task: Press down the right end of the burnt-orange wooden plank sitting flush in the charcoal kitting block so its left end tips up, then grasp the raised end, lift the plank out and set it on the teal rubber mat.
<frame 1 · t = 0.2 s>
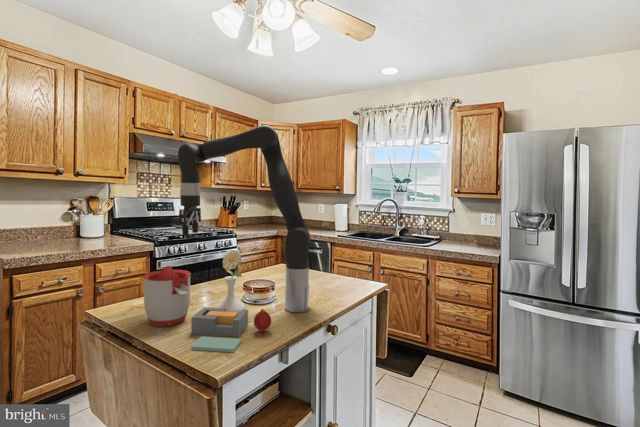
hand: (190, 233, 139), 29 cm above the countertop, tool pointing down, fingers open, 8 cm apart
flower in vase: (231, 313, 131), on the countertop
onion: (262, 332, 115), on the countertop
citrus juicer: (169, 321, 121), on the countertop
mat: (217, 345, 104), on the countertop
kitting block: (222, 329, 116), on the countertop
plank: (222, 320, 116), point 3 cm above the countertop, touching kitting block
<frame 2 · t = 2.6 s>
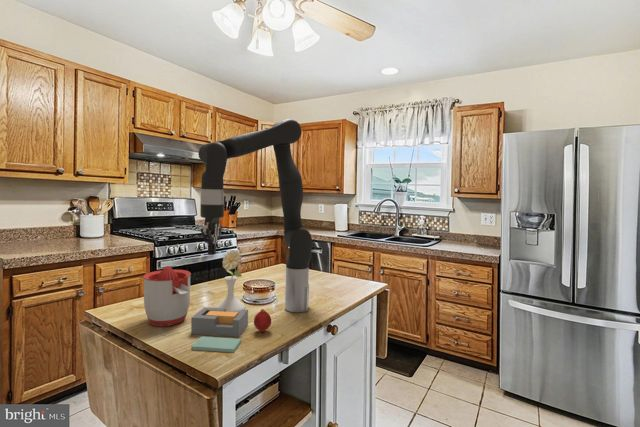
hand: (211, 254, 114), 26 cm above the countertop, tool pointing down, fingers closed
nothing on the countertop moved.
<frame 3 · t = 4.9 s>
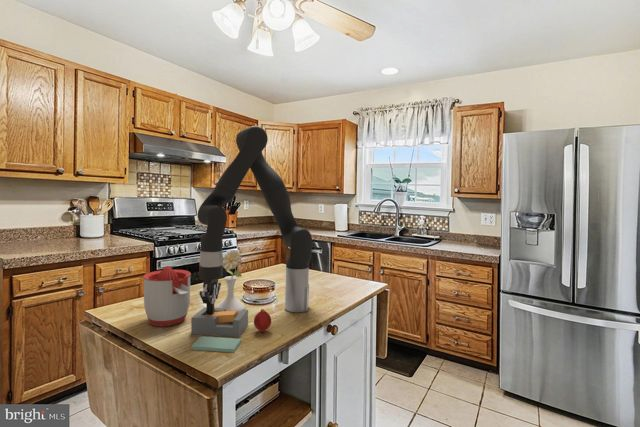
hand: (210, 313, 116), 5 cm above the countertop, tool pointing down, fingers closed
plank: (222, 320, 116), point 3 cm above the countertop, tilted 7°, touching gripper, kitting block
everything else where it was.
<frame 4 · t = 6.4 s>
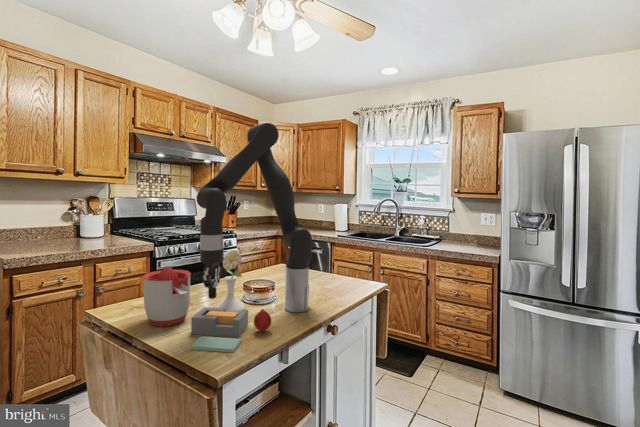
hand: (212, 297, 115), 11 cm above the countertop, tool pointing down, fingers closed
plank: (222, 320, 116), point 3 cm above the countertop, touching kitting block
everything else where it was.
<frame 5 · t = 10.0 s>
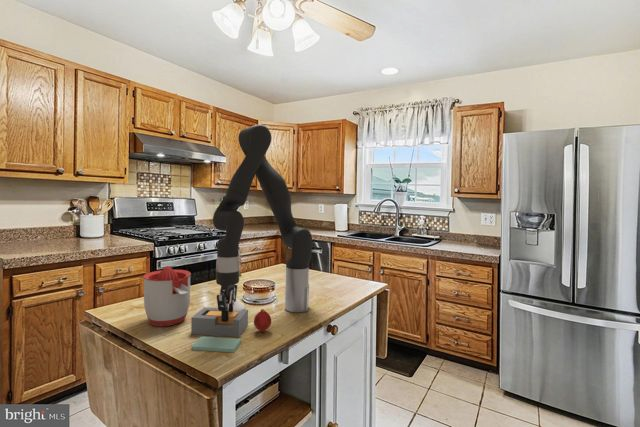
hand: (227, 318, 115), 4 cm above the countertop, tool pointing down, fingers closed on plank, 4 cm apart
plank: (222, 320, 116), point 3 cm above the countertop, touching gripper, kitting block
everything else where it was.
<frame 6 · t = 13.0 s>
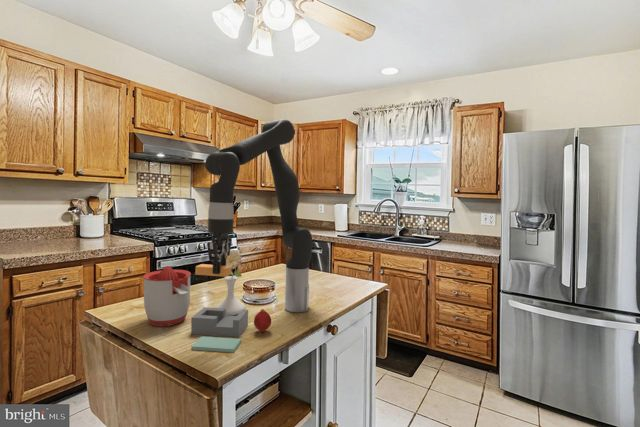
hand: (219, 271, 106), 22 cm above the countertop, tool pointing down, fingers closed on plank, 4 cm apart
plank: (213, 274, 106), point 21 cm above the countertop, touching gripper
everything else where it was.
when the fingers open (8 cm above the countertop, at t = 16.2 s): plank drops 6 cm, resting on mat.
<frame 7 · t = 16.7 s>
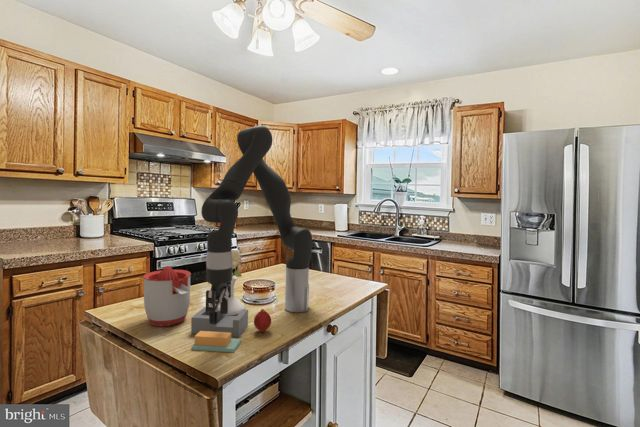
hand: (218, 318, 103), 9 cm above the countertop, tool pointing down, fingers open, 8 cm apart
plank: (213, 342, 104), point 1 cm above the countertop, touching mat
everything else where it was.
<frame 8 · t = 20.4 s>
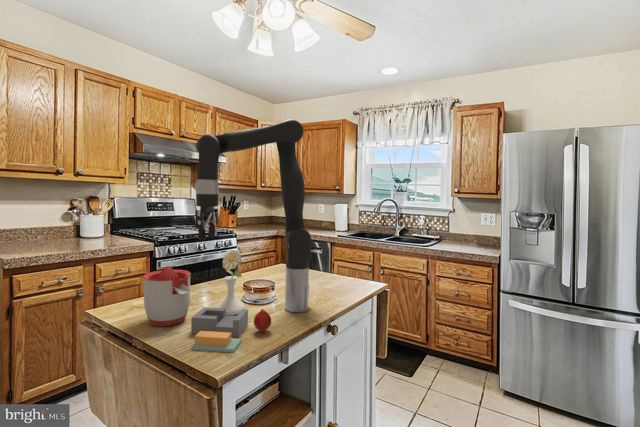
hand: (207, 238, 120), 30 cm above the countertop, tool pointing down, fingers open, 8 cm apart
nothing on the countertop moved.
at the end: plank inside the target area on the mat (1.2 cm from its centre), point 1.0 cm above the mat's base; plank moved 12.4 cm from its start; the gripper is holding nothing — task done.
